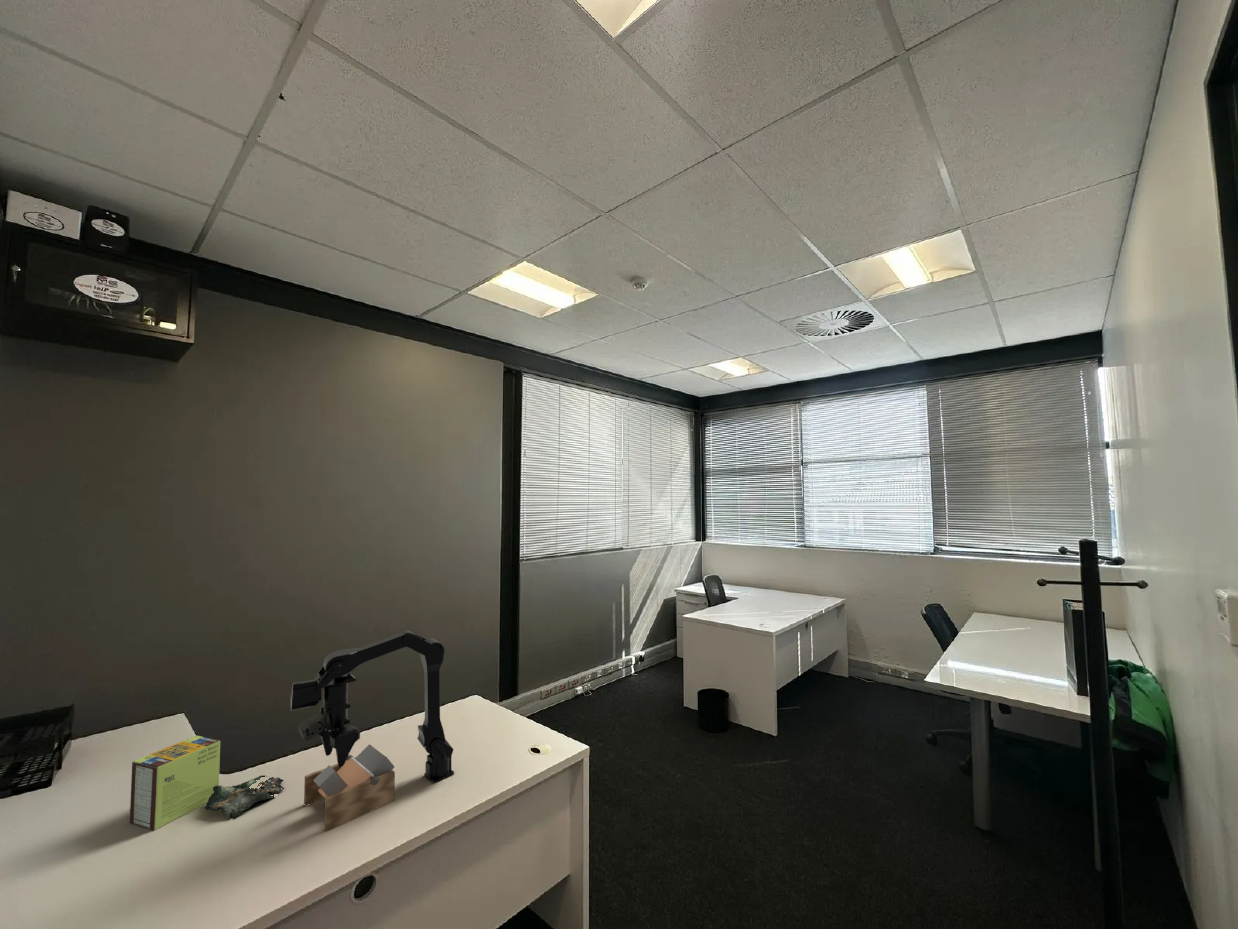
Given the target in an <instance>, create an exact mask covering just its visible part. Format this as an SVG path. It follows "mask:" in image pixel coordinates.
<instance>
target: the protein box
mask: <svg viewBox="0 0 1238 929" xmlns="http://www.w3.org/2000/svg"><path fill="white" fill-rule="evenodd" d="M220 755H221V740H220V739H215V738H210V737H206V736H200V735H194V736H191V737H189V738H187V739H185V740H182V741H180V742H177V743H175V744H172V745H169V746H167V747H164V748H162V749H159V750H158V751H155V752H152V753H149V754H147V755H145V756H141V757H140V758H137V759H134V760H133V761H132V762H131V779H130V780H131V781H130V782H131V784H130V786H131V787H130V804H129V824H132V825H136V826H138V827H139V826H140V827H143V828H146V829H149V830H152V831H156V830H157V829H160V828H162V827H164V826H165V825H167V824H169V823H171V822H173V821H176V820H177V819H179V818H181V817H182V816H185V815H187V814H189V813H190V812H193V811H194V810H196V809H198V808H200V807H202V806H204V805H206V804H207V802H208V799H209V797H211V794H213V793H214V791H213V787H214V786H217V785H220V764H221V762H220V761H221V759H220V758H221V756H220Z"/></svg>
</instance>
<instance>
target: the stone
mask: <svg viewBox="0 0 1238 929" xmlns="http://www.w3.org/2000/svg"><path fill="white" fill-rule="evenodd" d="M331 766H332V765H329V764H328V765H327V767H324V768H323V769H324V770H323V771H322V772H321V773H320V774H319V775H318V776H317V777H316V778H315V779H314V780H313V781H314V782H315V783H316V784H317V785H318V786H319V787H320V788H321V790H322V791H323V792H324V793H325V794H326V795H327V796H328V797H329V796H331V795H334V794H336V793H339V792H341V791H343V790H344V789H345V788H346V787H347V786H348V785H347V784H346V783H345V782H344V780H343V779H342V778H341V777H340V776H339V775H338V774H337V772H336V771H335V770H334V769H333V768H332V767H331Z"/></svg>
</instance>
